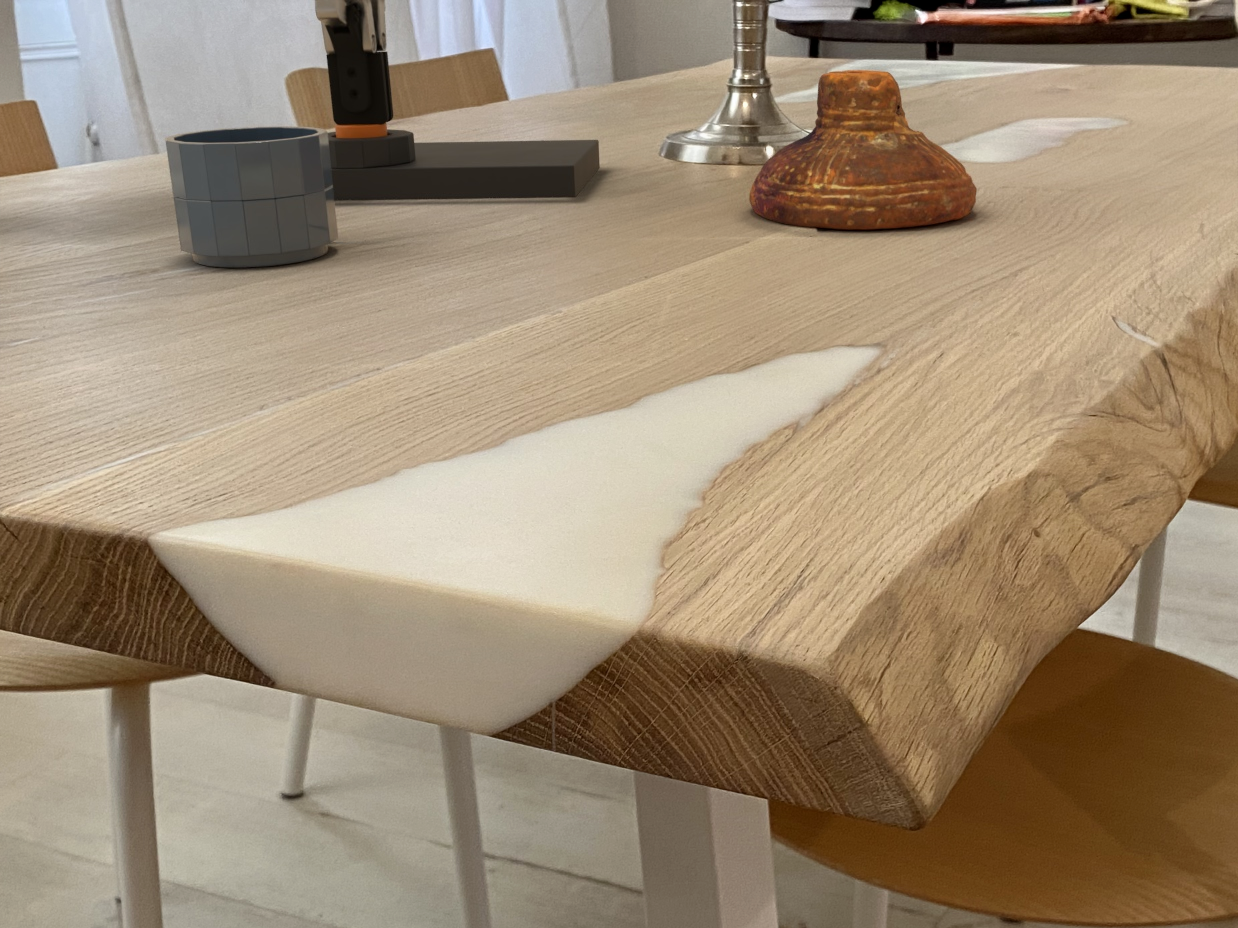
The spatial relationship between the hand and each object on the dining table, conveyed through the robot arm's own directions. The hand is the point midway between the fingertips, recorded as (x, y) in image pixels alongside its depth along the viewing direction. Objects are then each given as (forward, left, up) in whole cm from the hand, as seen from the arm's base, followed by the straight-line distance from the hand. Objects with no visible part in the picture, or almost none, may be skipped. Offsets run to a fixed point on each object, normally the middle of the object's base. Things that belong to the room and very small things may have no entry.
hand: (364, 122), depth 86 cm
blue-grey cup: (0, -20, -4) cm, 20 cm away
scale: (+5, +3, -4) cm, 7 cm away
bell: (+29, -10, -4) cm, 31 cm away
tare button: (0, 0, -2) cm, 2 cm away
